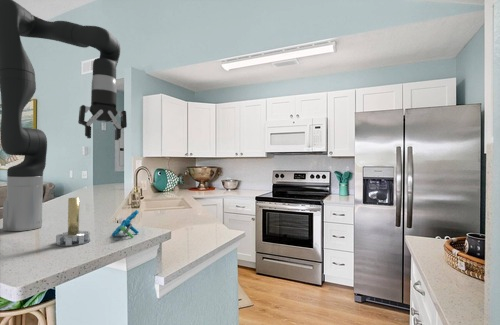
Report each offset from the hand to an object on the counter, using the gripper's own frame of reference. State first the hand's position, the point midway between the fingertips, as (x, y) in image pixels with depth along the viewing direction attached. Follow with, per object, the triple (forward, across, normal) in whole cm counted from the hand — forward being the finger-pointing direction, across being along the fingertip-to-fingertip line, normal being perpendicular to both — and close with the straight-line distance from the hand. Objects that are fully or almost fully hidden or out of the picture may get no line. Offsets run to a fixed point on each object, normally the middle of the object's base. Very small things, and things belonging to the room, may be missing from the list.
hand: (103, 139), depth 93 cm
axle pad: (+30, +10, +12) cm, 34 cm away
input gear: (+30, +10, +12) cm, 34 cm away
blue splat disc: (+30, -3, +13) cm, 33 cm away
